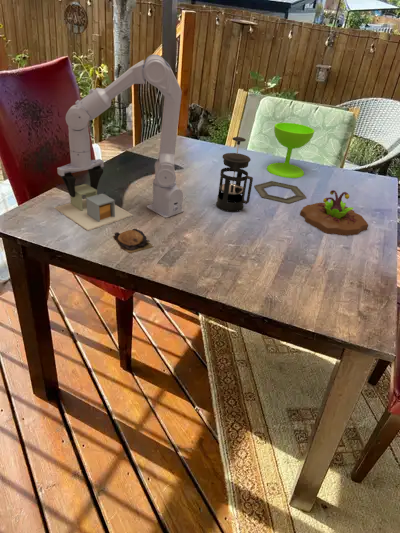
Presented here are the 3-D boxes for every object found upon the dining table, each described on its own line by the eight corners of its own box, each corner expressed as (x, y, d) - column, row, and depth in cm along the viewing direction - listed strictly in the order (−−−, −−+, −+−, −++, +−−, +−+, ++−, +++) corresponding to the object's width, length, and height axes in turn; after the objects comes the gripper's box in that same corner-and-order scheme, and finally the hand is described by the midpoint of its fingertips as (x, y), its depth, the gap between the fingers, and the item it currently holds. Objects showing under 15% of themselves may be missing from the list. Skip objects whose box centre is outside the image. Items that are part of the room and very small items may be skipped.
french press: (209, 205, 134) (216, 137, 122) (222, 197, 141) (230, 131, 129) (240, 216, 130) (251, 146, 117) (252, 206, 137) (264, 139, 124)
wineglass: (276, 161, 179) (285, 120, 169) (309, 171, 172) (320, 129, 162) (259, 170, 168) (267, 126, 158) (294, 181, 161) (304, 136, 151)
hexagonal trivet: (302, 208, 140) (303, 205, 140) (248, 195, 145) (248, 193, 145) (309, 191, 154) (309, 189, 154) (259, 180, 159) (259, 178, 159)
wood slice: (155, 249, 110) (155, 237, 108) (126, 256, 105) (126, 244, 103) (137, 231, 117) (137, 220, 115) (109, 237, 112) (109, 225, 110)
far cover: (97, 206, 126) (96, 190, 123) (81, 211, 122) (80, 194, 119) (87, 199, 129) (85, 183, 126) (71, 204, 125) (69, 187, 122)
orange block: (110, 216, 121) (110, 204, 119) (99, 220, 118) (98, 207, 116) (103, 211, 123) (102, 199, 121) (91, 215, 121) (90, 202, 118)
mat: (132, 215, 123) (132, 214, 123) (87, 231, 113) (87, 229, 113) (98, 196, 133) (98, 194, 133) (54, 208, 123) (54, 207, 123)
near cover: (115, 216, 121) (114, 200, 118) (98, 222, 117) (97, 205, 114) (103, 209, 124) (102, 193, 121) (87, 214, 121) (86, 197, 117)
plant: (327, 240, 122) (337, 206, 116) (291, 212, 137) (298, 181, 131) (376, 231, 130) (388, 200, 124) (337, 206, 144) (346, 176, 138)
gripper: (93, 142, 123) (95, 183, 130) (49, 149, 113) (55, 194, 121) (107, 148, 119) (108, 191, 126) (63, 156, 110) (67, 202, 117)
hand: (83, 193), depth 123 cm, fingers open, 7 cm apart
